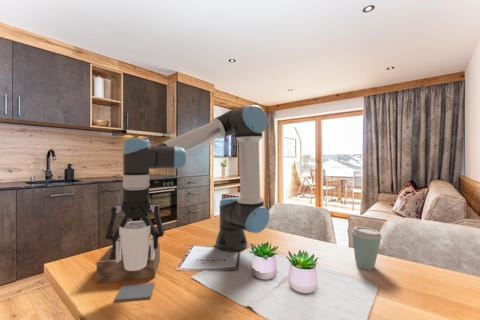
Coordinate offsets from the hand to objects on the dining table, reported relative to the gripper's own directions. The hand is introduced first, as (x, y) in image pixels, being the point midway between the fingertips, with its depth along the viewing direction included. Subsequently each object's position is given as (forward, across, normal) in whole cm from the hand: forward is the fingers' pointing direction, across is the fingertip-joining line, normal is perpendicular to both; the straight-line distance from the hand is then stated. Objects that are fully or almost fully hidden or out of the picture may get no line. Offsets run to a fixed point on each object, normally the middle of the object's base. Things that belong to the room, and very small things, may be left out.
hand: (135, 259), depth 74 cm
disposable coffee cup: (+10, -85, -3) cm, 86 cm away
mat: (+11, 0, 0) cm, 11 cm away
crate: (+10, +5, -15) cm, 19 cm away
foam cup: (+2, 0, 0) cm, 2 cm away
